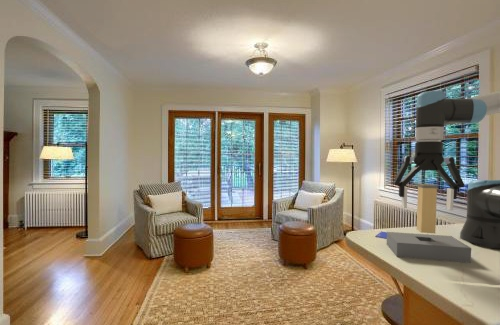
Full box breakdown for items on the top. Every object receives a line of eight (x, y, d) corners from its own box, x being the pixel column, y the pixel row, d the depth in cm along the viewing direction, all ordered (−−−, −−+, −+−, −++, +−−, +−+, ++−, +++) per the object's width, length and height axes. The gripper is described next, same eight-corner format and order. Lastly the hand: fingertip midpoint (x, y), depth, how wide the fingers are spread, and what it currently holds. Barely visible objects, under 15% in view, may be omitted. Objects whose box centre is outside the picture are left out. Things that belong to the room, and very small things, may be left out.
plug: (430, 229, 92) (431, 184, 91) (435, 233, 88) (437, 185, 87) (416, 229, 93) (417, 183, 92) (420, 232, 89) (422, 185, 88)
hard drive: (375, 235, 107) (412, 243, 99) (381, 231, 113) (416, 237, 105) (375, 239, 107) (412, 247, 99) (381, 234, 113) (416, 241, 105)
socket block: (450, 250, 94) (451, 235, 94) (470, 264, 83) (471, 247, 82) (386, 245, 99) (386, 231, 98) (396, 258, 87) (397, 242, 87)
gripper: (390, 140, 88) (388, 208, 89) (480, 140, 83) (477, 212, 84) (384, 141, 95) (382, 204, 96) (466, 141, 90) (463, 207, 91)
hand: (426, 208), depth 90 cm, fingers open, 12 cm apart
